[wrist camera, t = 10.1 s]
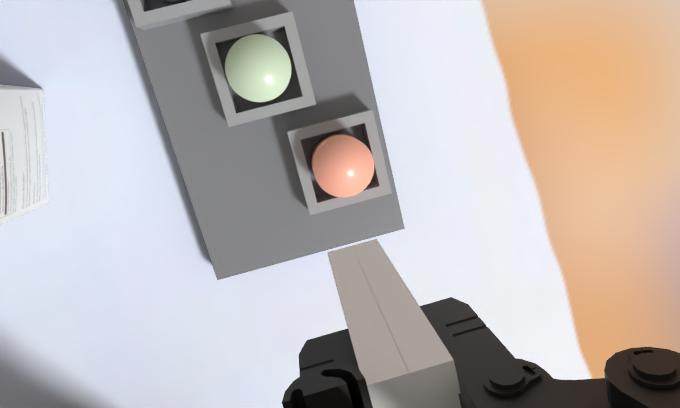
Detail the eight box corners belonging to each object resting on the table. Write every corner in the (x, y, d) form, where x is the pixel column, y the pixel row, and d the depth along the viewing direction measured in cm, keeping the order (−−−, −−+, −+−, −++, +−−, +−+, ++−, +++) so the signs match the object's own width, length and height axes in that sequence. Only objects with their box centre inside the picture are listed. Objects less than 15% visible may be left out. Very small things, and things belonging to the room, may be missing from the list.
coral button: (318, 194, 38) (322, 204, 35) (304, 140, 37) (306, 145, 33) (371, 180, 38) (380, 188, 35) (359, 126, 37) (366, 129, 34)
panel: (220, 271, 41) (214, 288, 37) (92, -114, 33) (68, -140, 30) (398, 222, 42) (410, 234, 38) (311, -164, 34) (315, -195, 31)
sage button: (240, 107, 36) (236, 109, 32) (223, 48, 35) (216, 43, 31) (297, 93, 36) (298, 93, 33) (281, 33, 35) (281, 27, 32)
